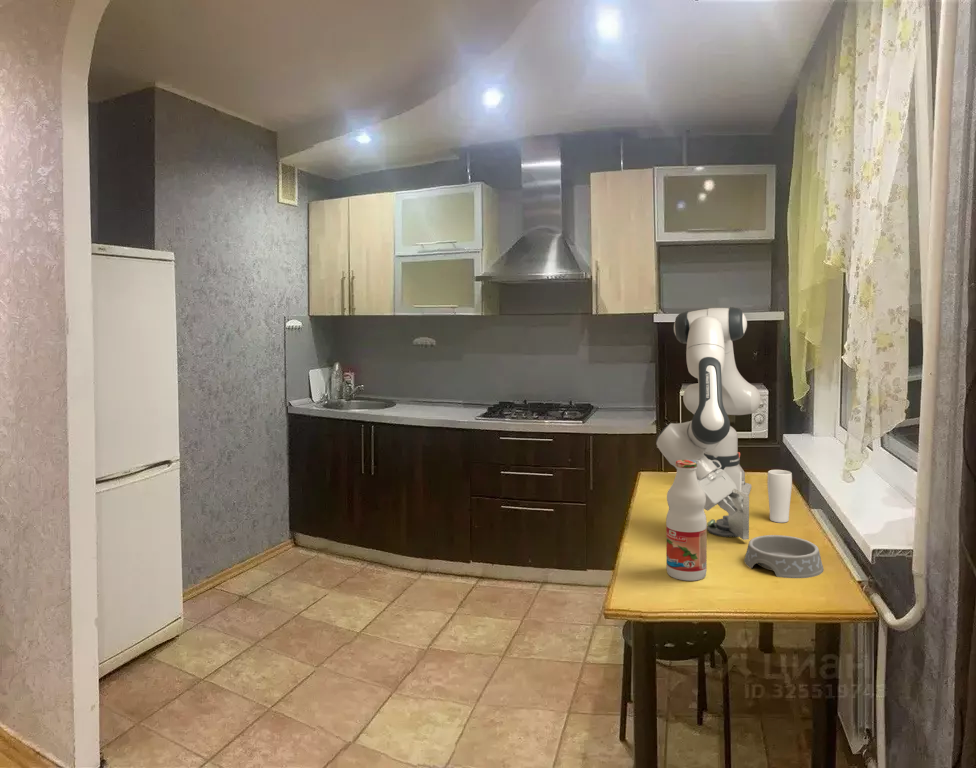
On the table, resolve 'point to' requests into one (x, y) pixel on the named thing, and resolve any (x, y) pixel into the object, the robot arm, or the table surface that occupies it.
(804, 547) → the dog bowl
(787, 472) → the drinking glass
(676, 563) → the white plastic bottle
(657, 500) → the table surface
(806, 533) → the table surface
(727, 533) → the base
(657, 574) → the table surface
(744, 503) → the upright slab
